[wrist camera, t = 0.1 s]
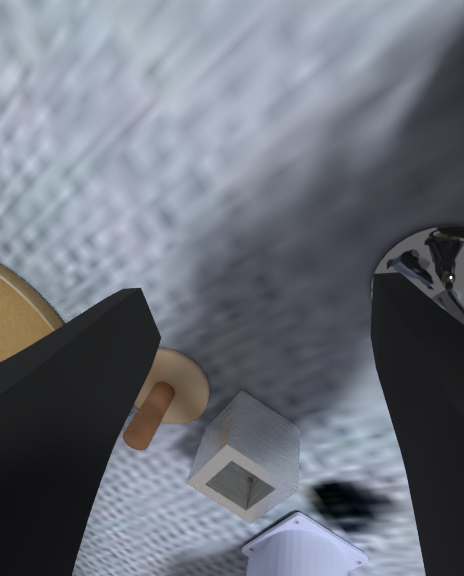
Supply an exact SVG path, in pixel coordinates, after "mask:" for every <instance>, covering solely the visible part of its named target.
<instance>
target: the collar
mask: <svg viewBox="0 0 464 576" xmlns="http://www.w3.org/2000/svg"><path fill="white" fill-rule="evenodd" d="M299 450H300V428H299V427H298V426H296V425H295V424H293V423H292V422H290V421H289V420H287V419H286V418H284V417H282V416H281V415H279V414H278V413H276V412H275V411H273V410H272V409H270V408H269V407H267V406H266V405H264V404H263V403H261V402H260V401H258V400H257V399H255V398H254V397H252V396H251V395H249V394H248V393H246V392H245V391H243V390H241V391H240V392H239V393H238V394H237V395H236V396H235V397H234V398H233V399H232V400H231V401H230V403H229V404H228V405H227V406H226V407H225V408H224V409H223V410H222V411H221V412H220V413H219V414H218V415H217V416H216V417H215V418H214V419H213V421H212V422H211V423H210V424H209V425H208V426H207V427H206V430H205V432H204V435H203V438H202V441H201V443H200V446H199V449H198V452H197V455H196V457H195V460H194V463H193V466H192V468H191V471H190V474H189V477H188V480H187V482H186V483H187V484H188V485H190V486H192V487H193V488H195V489H196V490H198V491H200V492H201V493H203V494H204V495H206V496H207V497H209V498H211V499H212V500H214V501H215V502H217V503H218V504H220V505H222V506H223V507H225V508H226V509H228V510H229V511H231V512H233V513H234V514H236V515H237V516H239V517H241V518H242V519H244V520H245V521H247V522H248V523H250V524H251V523H252V522H253V521H255V520H256V519H258V518H259V517H261V516H262V515H264V514H265V513H266V512H268V511H269V510H271V509H272V508H274V507H275V506H276V505H278V504H279V503H281V502H282V501H284V500H285V499H287V498H288V497H289V496H291V495H292V494H294V493H295V492H297V491H298V477H299Z"/></svg>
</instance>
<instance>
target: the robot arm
mask: <svg viewBox="0 0 464 576" xmlns="http://www.w3.org/2000/svg"><path fill="white" fill-rule="evenodd" d="M160 340H161V336H160V334H159V331H158V329H157V326H156V324H155V321H154V319H153V316H152V314H151V312H150V309H149V307H148V304H147V302H146V299H145V297H144V294H143V292H142V289H141V288H129V289H122V290H120V291H118V292H116V293H114V294H112V295H111V296H109V297H107V298H106V299H104V300H102V301H101V302H99V303H97V304H96V305H94V306H93V307H91V308H89V309H88V310H86V311H85V312H83V313H82V314H80V315H78V316H77V317H75V318H74V319H72V320H71V321H69V322H68V323H66V324H64V325H63V326H61V327H60V328H58V329H56V330H55V331H53V332H51V333H50V334H48V335H47V336H45V337H43V338H42V339H40V340H38V341H37V342H35V343H33V344H32V345H30V346H28V347H27V348H25V349H23V350H22V351H20V352H18V353H16V354H14V355H13V356H11V357H9V358H7V359H5V360H4V361H2V362H0V576H72V572H73V568H74V564H75V561H76V558H77V554H78V551H79V548H80V544H81V541H82V538H83V534H84V531H85V528H86V524H87V521H88V518H89V515H90V512H91V509H92V506H93V503H94V500H95V497H96V494H97V491H98V488H99V485H100V482H101V479H102V477H103V474H104V471H105V469H106V466H107V463H108V461H109V458H110V455H111V453H112V450H113V447H114V445H115V443H116V440H117V438H118V436H119V434H120V431H121V429H122V427H123V425H124V423H125V421H126V419H127V417H128V415H129V413H130V411H131V409H132V407H133V405H134V403H135V401H136V399H137V397H138V395H139V393H140V391H141V389H142V387H143V385H144V383H145V380H146V378H147V376H148V374H149V372H150V370H151V368H152V365H153V362H154V359H155V356H156V354H157V350H158V347H159V343H160ZM371 340H372V346H373V352H374V358H375V364H376V369H377V373H378V376H379V380H380V383H381V386H382V390H383V393H384V397H385V400H386V403H387V407H388V410H389V413H390V417H391V420H392V423H393V427H394V430H395V433H396V437H397V440H398V443H399V447H400V450H401V454H402V458H403V462H404V466H405V470H406V474H407V479H408V484H409V489H410V494H411V499H412V504H413V509H414V514H415V520H416V525H417V530H418V536H419V541H420V546H421V552H422V557H423V563H424V568H425V573H426V576H464V324H462V323H461V322H460V321H458V320H457V319H456V318H454V317H453V316H452V315H451V314H449V313H448V312H447V311H445V310H444V309H443V308H442V307H440V306H439V305H438V304H437V303H436V302H434V301H433V300H432V299H431V298H430V297H428V296H427V295H426V294H425V293H424V292H423V291H421V290H420V289H419V288H418V287H417V286H416V285H414V284H413V283H412V282H411V281H410V280H409V279H407V278H406V277H405V276H404V275H403V274H402V273H400V272H394V273H378V274H373V295H372V317H371ZM242 553H243V554H244V555H246V556H247V557H249V560H248V566H247V573H246V576H348V571H350V570H353V569H355V568H357V567H359V566H361V565H363V564H366V563H367V562H368V557H367V555H366V554H365V553H363V552H361V551H360V550H358V549H357V548H355V547H354V546H352V545H351V544H349V543H348V542H346V541H344V540H343V539H341V538H340V537H338V536H337V535H335V534H334V533H332V532H330V531H329V530H327V529H326V528H324V527H323V526H321V525H320V524H318V523H317V522H315V521H313V520H312V519H310V518H309V517H307V516H306V515H304V514H303V513H300V512H296V513H294V514H293V515H291V516H290V517H288V518H286V519H285V520H283V521H282V522H280V523H279V524H277V525H276V526H274V527H273V528H271V529H269V530H268V531H266V532H265V533H263V534H262V535H260V536H259V537H257V538H256V539H254V540H252V541H251V542H249V543H248V544H246V545H245V546H243V547H242Z"/></svg>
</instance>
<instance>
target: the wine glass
mask: <svg viewBox="0 0 464 576" xmlns="http://www.w3.org/2000/svg"><path fill="white" fill-rule="evenodd" d="M394 272H400V273H402V274H403V275H404V276H405V277H406V278H407V279H409V280H410V281H411V282H412V283H413V284H414V285H416V286H417V287H418V288H419V289H420V290H421V291H423V292H424V293H425V294H426V295H427V296H428V297H430V298H431V299H432V300H433V301H434V302H436V303H437V304H438V305H439V306H440V307H442V308H443V309H444V310H445V311H447V312H448V313H449V314H451V315H452V316H453V317H454V318H456V319H457V320H458V321H460V322H461V323H462V324H464V226H459V225H450V226H439V227H433V228H429V229H426V230H422V231H419V232H417V233H415V234H413V235H411V236H409V237H406V238H405V239H403V240H402V241H400V242H399V243H397V244H396V245H395V246H394V247H393V248H391V249H390V250H389V251H388V252H387V253H386V254H385V256H384V257H383V258H382V259H381V261H380V262H379V264H378V266H377V267H376V269H375V271H374V274H378V273H394ZM370 294H371V301H372V295H373V277H372V280H371V287H370Z"/></svg>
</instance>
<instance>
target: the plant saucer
mask: <svg viewBox="0 0 464 576" xmlns="http://www.w3.org/2000/svg"><path fill="white" fill-rule="evenodd" d="M63 325H64V323H63V322H62V321H61V319H60V318H59V317H58V315H57V314H56V313H55V312H54V310H53V309H52V308H51V307H50V306H49V305H48V304H47V302H46V301H45V300H44V299H43V298H42V297H41V296H40V295H39V294H38V293H37V292H36V291H35V290H34V289H33V288H32V287H30V286H29V285H28V284H27V283H26V282H25V281H23V280H22V279H21V278H20V277H18V276H17V275H16V274H14V273H13V272H12V271H10V270H9V269H7V268H6V267H5V266H3V265H2V264H0V362H2V361H4V360H5V359H7V358H9V357H11V356H13V355H14V354H16V353H18V352H20V351H22V350H23V349H25V348H27V347H28V346H30V345H32V344H33V343H35V342H37V341H38V340H40V339H42V338H43V337H45V336H47V335H48V334H50V333H51V332H53V331H55V330H56V329H58V328H60V327H61V326H63Z"/></svg>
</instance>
